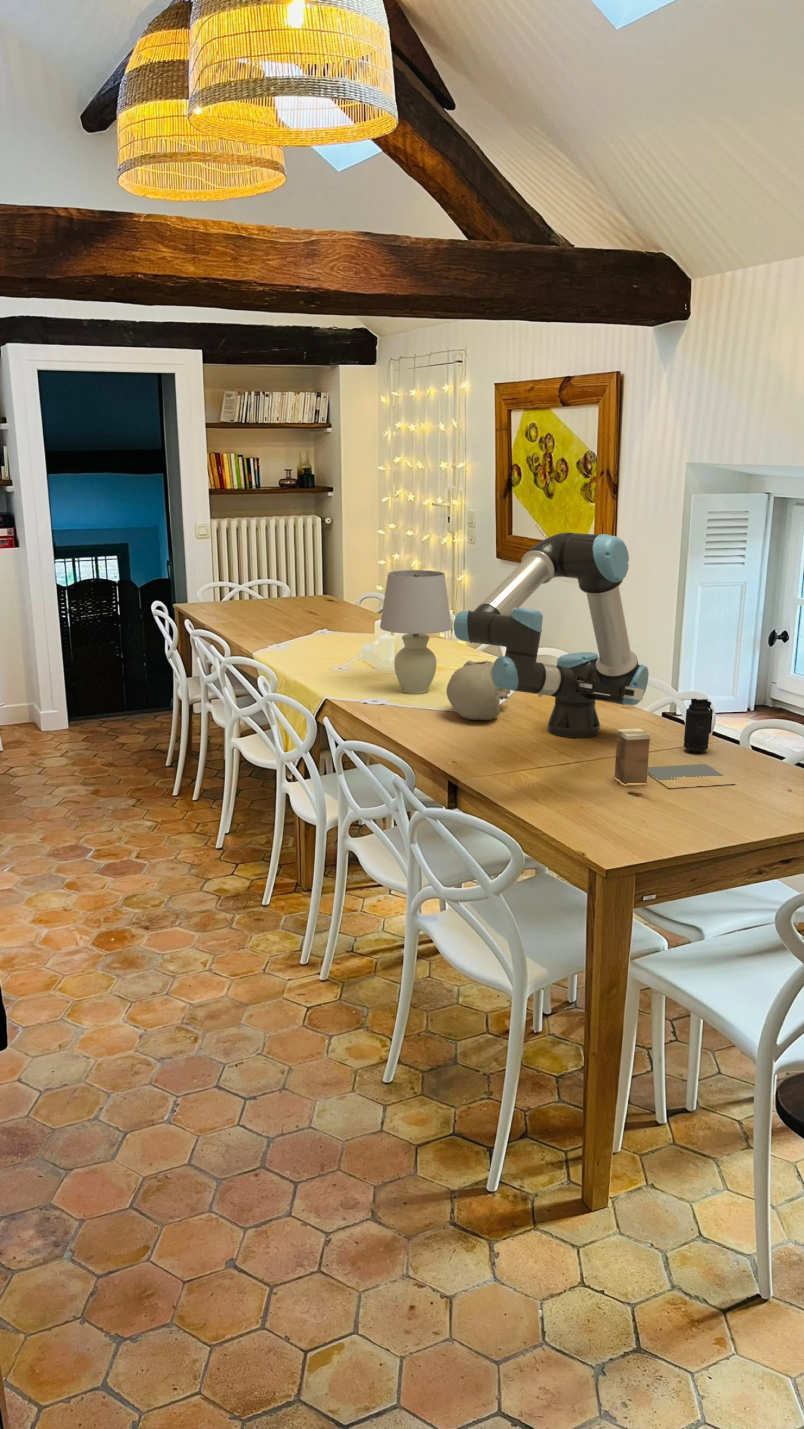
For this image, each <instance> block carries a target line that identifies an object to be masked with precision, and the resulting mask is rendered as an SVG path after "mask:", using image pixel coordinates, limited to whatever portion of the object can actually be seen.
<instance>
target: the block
mask: <svg viewBox="0 0 804 1429" xmlns="http://www.w3.org/2000/svg"><path fill="white" fill-rule="evenodd" d="M650 739H651V734H649V733H648V732H646V731H644V729H642V728H624V729H623V728H621V729H616V746H615V748H616V749H615V761H614V762H615V764H614V766H615V767H614V778H615V777H616V778H617V779H619V780H620V781H621V782H622V783H624V784H627V783H647V782H648V774H647V771H648V767H649V756H650V755H649V753H650V742H651V741H650ZM647 784H648V783H647Z"/></svg>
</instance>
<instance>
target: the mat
mask: <svg viewBox="0 0 804 1429" xmlns="http://www.w3.org/2000/svg"><path fill="white" fill-rule="evenodd" d="M647 773H648V774H650V775H652V776H654V777H655V778H657V779H658V780H671V779H672V780H674V777H675V780H677V779H676V777H683V776H685V777H696V776H697V777H699V776H701V777H702V776H705V777H706V776H723V775H724V774H723V773H721V772H719V771H718V770H716V769H715V768H712V767H711V766H710V765H708V764H706V763H701V764H699V763H698V764H695V763H694V764H683V765H681V764H680V765H665V766H663V765H662V766H648V771H647ZM648 774H647V775H648ZM671 777H672V778H671ZM678 779H679V778H678Z"/></svg>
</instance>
